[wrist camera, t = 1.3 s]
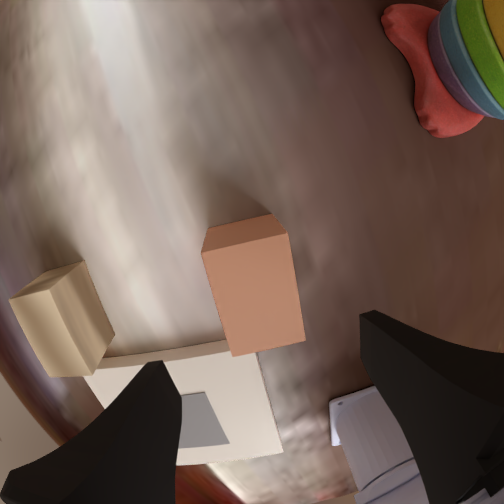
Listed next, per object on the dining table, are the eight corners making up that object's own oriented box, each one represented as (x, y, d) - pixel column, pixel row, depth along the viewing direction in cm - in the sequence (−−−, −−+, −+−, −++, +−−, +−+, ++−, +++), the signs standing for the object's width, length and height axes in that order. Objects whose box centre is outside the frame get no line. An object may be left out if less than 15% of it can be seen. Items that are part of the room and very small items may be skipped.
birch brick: (85, 259, 18) (49, 289, 13) (115, 333, 20) (92, 375, 15) (45, 271, 18) (8, 299, 13) (76, 339, 20) (49, 377, 15)
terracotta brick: (271, 213, 18) (287, 233, 13) (288, 299, 20) (305, 340, 15) (208, 228, 18) (200, 252, 13) (231, 312, 20) (232, 357, 15)
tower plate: (251, 333, 20) (253, 347, 19) (281, 441, 25) (283, 453, 23) (86, 359, 20) (79, 371, 19) (152, 455, 24) (150, 466, 23)
